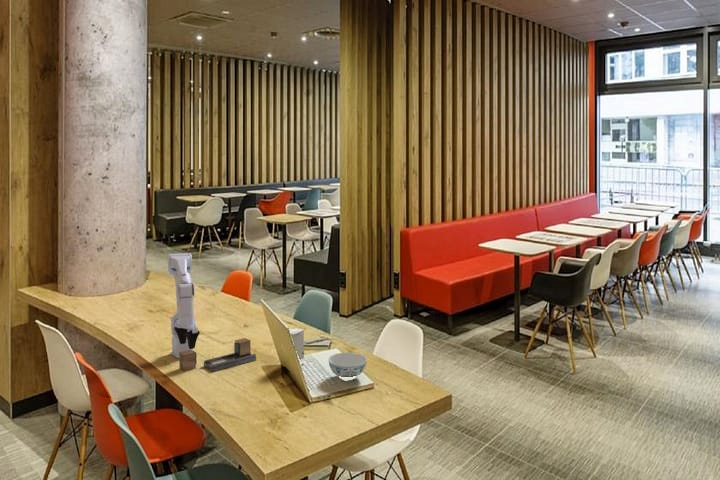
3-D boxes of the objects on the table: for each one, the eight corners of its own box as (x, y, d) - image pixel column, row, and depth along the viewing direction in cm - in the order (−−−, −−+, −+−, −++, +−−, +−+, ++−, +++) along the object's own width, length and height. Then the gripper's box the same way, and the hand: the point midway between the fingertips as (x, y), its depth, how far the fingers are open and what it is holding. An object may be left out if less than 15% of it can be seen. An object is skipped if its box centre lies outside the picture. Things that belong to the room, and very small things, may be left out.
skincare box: (293, 370, 235) (292, 334, 233) (280, 367, 238) (280, 332, 236) (304, 363, 242) (304, 329, 240) (292, 361, 245) (292, 326, 243)
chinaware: (362, 387, 219) (362, 367, 218) (324, 383, 222) (324, 364, 221) (369, 372, 234) (370, 354, 232) (333, 369, 237) (333, 351, 235)
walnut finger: (179, 368, 235) (179, 352, 234) (192, 365, 239) (192, 348, 238) (184, 371, 232) (183, 354, 231) (197, 368, 236) (196, 351, 235)
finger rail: (203, 366, 238) (203, 346, 237) (246, 355, 252) (245, 336, 250) (213, 371, 232) (212, 351, 231) (256, 360, 246) (256, 340, 244)
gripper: (168, 311, 234) (169, 343, 236) (185, 319, 224) (186, 353, 226) (184, 308, 239) (185, 340, 241) (202, 315, 229) (203, 349, 231)
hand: (187, 346), depth 234 cm, fingers open, 7 cm apart
